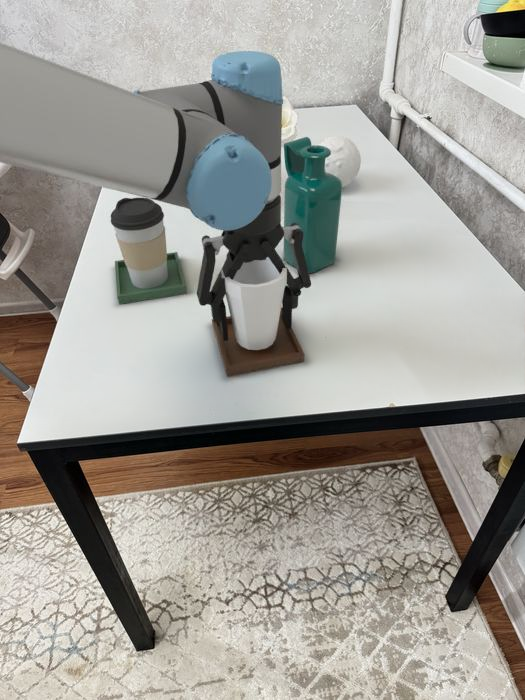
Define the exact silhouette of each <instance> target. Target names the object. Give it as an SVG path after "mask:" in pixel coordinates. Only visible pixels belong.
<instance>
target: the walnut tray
mask: <svg viewBox="0 0 525 700" xmlns="http://www.w3.org/2000/svg"><path fill="white" fill-rule="evenodd" d="M226 318H227V330H228V340H227V341H223V337H222V334H221V331H220V322H216V323H215V322H214V320H213V318H212V319H211V325H212V330H213V334H214V337H215V340H216V343H217V347H218V350H219V354H220V358H221V360H222V364H223V368H224V371H225V374H226V377H233V376H238V375H243V374H248V373H249V374H250V373H253V372H258V371H259V372H260V371H263V370H268V369H274V368H278V367H284V366H289V365H294V364H300V363H304V362H305V352H304V350H303V348H302V346H301V344H300V341H299V340H298V338H297V335H296V334H295V331H294V330H293V327H292V326H291V329H286V327H285V324H284V322H283V320H282V306H281V312H280V317H279V323H278V329H277V334H276V339H275V341H274V343H273V344H272V345H271V346H269V347H267V348H266V349H261V350H248V349H246V348H244V347H242V346H241V345H240V344H239V343H238V342H237V339H236V336H235V332H234V327H233V323H232V319H231V315H229V316H226Z"/></svg>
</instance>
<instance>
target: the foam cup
mask: <svg viewBox="0 0 525 700" xmlns="http://www.w3.org/2000/svg"><path fill="white" fill-rule="evenodd" d="M225 261H226V259H225V260H224V262H223V263H222V264H221V266H220V271H221V276H222V278H225V287H226V294H225V298H226V302H227V306H228V311H229V316H231V319H232V323H233V327H234V332H235V336H236V339H237V342H238V343H239V344H240V345H241V346H242V347H244V348H246V349H248V350H261V349H266V348H267V347H269V346H271V345H272V344H273V343H274V341H275V339H276V334H277V329H278V323H279V317H280V312H281V307H282V300H283V294H284V289H285V286H286V285H287V269H288V267H287V264H286V263H287V262H286V261H285V260H284V259H282V261H283V263H284V265H285V267H287V268H282V272H281V273H279V272H278V270H277V269H276V267H275V266H274V264H273V263H272V262H271V260H270V259H269V257H267V258H266V260H254V261H251V262H248V263H244V262H243V264H242V266H241V268H240V270H238V271H237V272H236V274H235V276H234V278H233V280H232V279H231V278H230V277H225V276H224V273H223V270H222V267H223V265H224V263H225Z"/></svg>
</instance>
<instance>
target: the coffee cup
mask: <svg viewBox="0 0 525 700" xmlns="http://www.w3.org/2000/svg"><path fill="white" fill-rule="evenodd" d="M164 218H165V214H164V211H163V208H162V206H161V205H160V204H158V203H157V202H155V200H154V199H149V198H145V197H132V198H129V197H123V198H121V199H119V200H118V201H117V202H116V205H115V208H114V209H113V210H112V212H111V213H110V224H111V225H112V226H113V229H114V232H115V238H116V241H117V243H118V247H119V250H120V252H121V253H120V254H121V255H122V260H124V262H125V264H126V266H127V269H128V272H129V275H130V278H131V281H132V283H133V285H134V286H136V287H138V288H143V289H149V288H155V287H158V286H160V285H162V284H163V283H165V282H166V280H167V279H168V271H167V253H168V251H167V250H168V249H167V238H166V237H167V236H166V227H165V225H164Z"/></svg>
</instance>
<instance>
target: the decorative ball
mask: <svg viewBox="0 0 525 700" xmlns="http://www.w3.org/2000/svg"><path fill="white" fill-rule="evenodd" d="M317 145H319V146H324V147H327V148H329V149H330V150H331V155H330V156H329V157H327V158H325V171H326V172H328V173H330V174H332V175H334V176H336V177H338V178H339V179H340V180H341V182H342V189H343V188H345V187H347V186H348V185H350V184H351V183H353V181H354V180H355V179H356V177H357V176H358V174H359V172H360V169H361V163H362V161H361V160H362V158H361V153H360V150H359V149H358V146H357V144H355V143H354V142H353V140H351V139H349V138H347V137H345V136H341V135H333V136H329V137H326V138H325V139H323V140H321V141H320V142H319V143H317Z"/></svg>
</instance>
